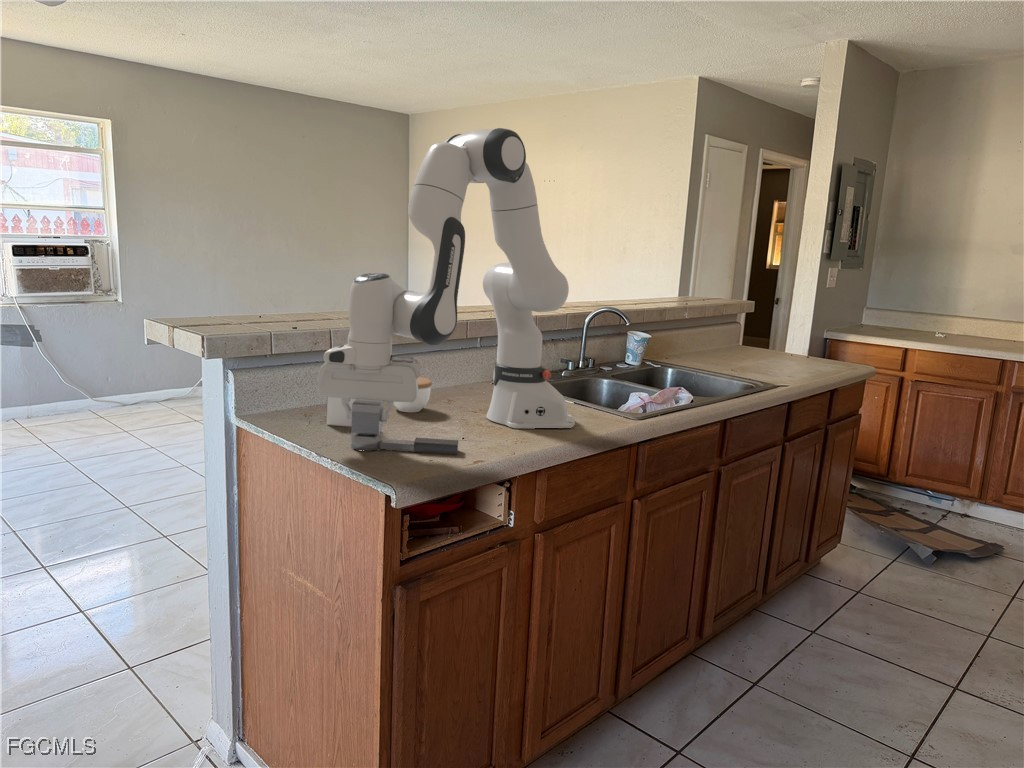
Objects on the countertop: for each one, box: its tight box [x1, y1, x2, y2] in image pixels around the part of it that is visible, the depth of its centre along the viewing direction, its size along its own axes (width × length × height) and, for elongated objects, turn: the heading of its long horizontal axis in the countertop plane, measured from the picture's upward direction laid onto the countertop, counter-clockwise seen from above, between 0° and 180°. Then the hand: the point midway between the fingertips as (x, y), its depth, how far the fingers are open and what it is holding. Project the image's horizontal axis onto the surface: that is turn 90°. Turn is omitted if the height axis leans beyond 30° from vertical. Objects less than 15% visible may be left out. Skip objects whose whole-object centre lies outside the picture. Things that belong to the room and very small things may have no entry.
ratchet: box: [350, 430, 459, 456], centre depth 143 cm, size 22×6×7 cm, turn 92°
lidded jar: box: [394, 376, 432, 413], centre depth 176 cm, size 11×11×9 cm
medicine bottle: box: [325, 397, 356, 428], centre depth 159 cm, size 7×7×12 cm
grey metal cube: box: [350, 399, 385, 434], centre depth 142 cm, size 6×6×6 cm
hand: (367, 420), depth 142 cm, fingers closed on grey metal cube, 5 cm apart
